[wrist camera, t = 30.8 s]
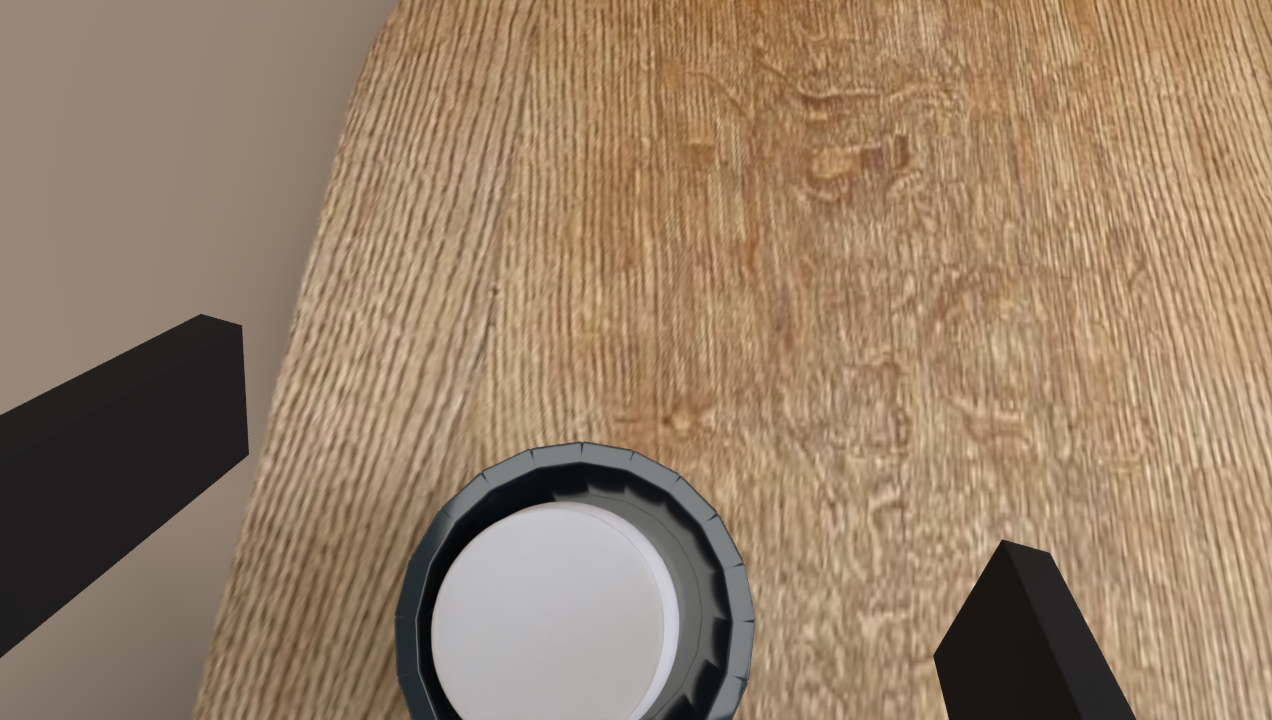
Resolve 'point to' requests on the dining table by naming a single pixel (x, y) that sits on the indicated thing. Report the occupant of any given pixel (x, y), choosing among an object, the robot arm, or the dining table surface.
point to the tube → (650, 501)
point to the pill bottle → (556, 619)
